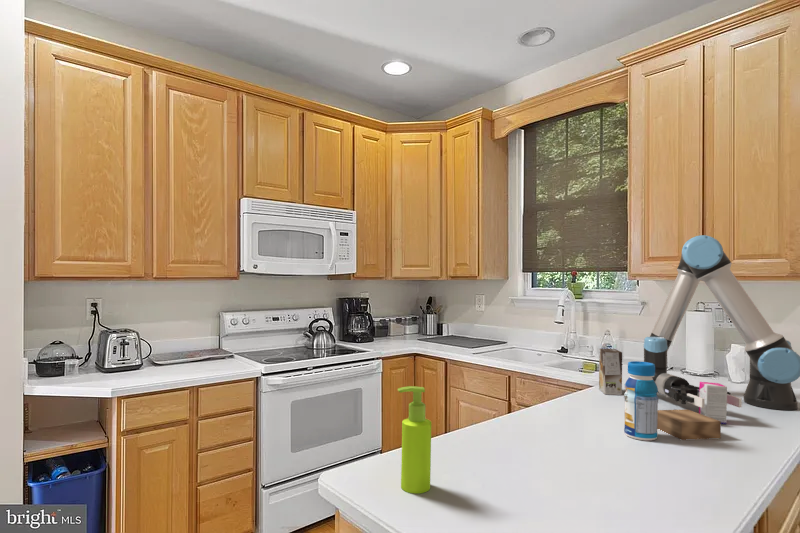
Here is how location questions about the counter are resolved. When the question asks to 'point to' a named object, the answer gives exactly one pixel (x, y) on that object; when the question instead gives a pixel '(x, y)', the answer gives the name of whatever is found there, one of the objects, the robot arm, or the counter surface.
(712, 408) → the supplement box
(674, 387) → the robot arm
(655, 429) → the beverage bottle
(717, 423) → the oak riser block
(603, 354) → the coffee box
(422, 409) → the soap dispenser
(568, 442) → the counter surface
